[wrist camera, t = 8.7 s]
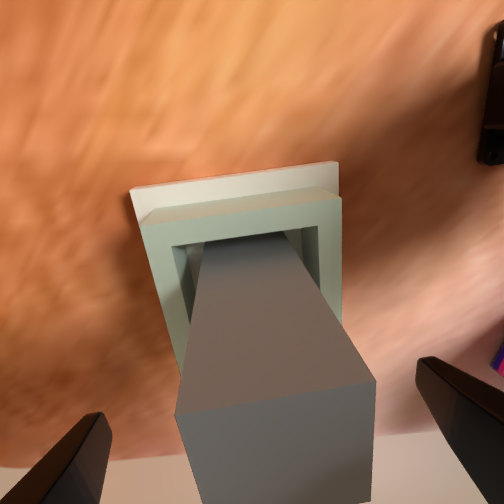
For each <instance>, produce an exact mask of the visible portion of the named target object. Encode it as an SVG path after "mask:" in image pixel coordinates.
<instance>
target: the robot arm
mask: <svg viewBox="0 0 504 504" xmlns="http://www.w3.org/2000/svg"><path fill="white" fill-rule="evenodd" d="M490 152H491V156H490V158H489V159H488V155H489V153H490ZM477 161H478V163H479V164H481V165H489V166H492V165H499V164H504V20H503V21H502V22H501V24H500V26H499V29H498V33H497V40H496V46H495V52H494V58H493V64H492V70H491V76H490V82H489V88H488V94H487V100H486V106H485V112H484V118H483V124H482V130H481V136H480V142H479V148H478V155H477ZM415 382H416V386H417V388H418V390H419V392H420V394H421V395H422V397H423V399H424V401H425V403H426V405H427V406H428V408H429V410H430V412H431V414H432V415H433V417H434V419H435V421H436V423H437V425H438V426H439V428H440V430H441V432H442V434H443V435H444V437H445V439H446V441H447V442H448V444H449V445H450V447H451V449H452V450H453V452H454V453H455V455H456V456H457V457H458V459H459V461H460V462H461V463H462V465H463V466H464V468H465V470H466V471H467V473H468V474H469V475H470V477H471V479H472V480H473V481H474V483H475V484H476V486H477V487H478V489H479V490H480V492H481V493H482V495H483V496H484V498H485V499H486V501H487V502H488V504H504V392H503V391H501V390H499V389H497V388H495V387H493V386H491V385H489V384H487V383H485V382H483V381H481V380H479V379H477V378H475V377H473V376H472V375H470V374H468V373H466V372H464V371H462V370H460V369H458V368H456V367H454V366H452V365H450V364H448V363H446V362H444V361H442V360H440V359H438V358H436V357H434V356H429V357H423V358H419V359H418V361H417V368H416V377H415ZM111 443H112V431H111V429H110V426H109V424H108V422H107V419H106V417H105V415H104V413H102V412H95V413H89V414H86V415H85V416H84V417H82V418H81V419H80V420H79V422H78V423H77V424H76V425H75V426H74V427H73V428H72V429H71V430H70V431H69V432H68V433H67V434H66V435H65V436H64V437H63V438H62V439H61V440H60V441H59V442H58V443H57V444H56V445H55V446H54V447H53V448H52V449H51V450H50V451H49V452H48V453H47V454H46V455H45V456H44V457H43V458H42V459H41V460H40V461H39V462H38V463H37V464H36V465H35V466H34V467H33V468H32V469H31V470H30V471H29V472H28V473H27V474H26V475H25V476H24V477H23V478H22V479H21V480H20V481H19V482H18V483H17V484H16V485H15V486H14V487H13V488H12V489H11V490H10V491H9V492H8V493H7V494H6V495H5V496H4V497H3V498H2V499H1V500H0V504H99V502H100V498H101V493H102V488H103V483H104V478H105V473H106V468H107V463H108V458H109V453H110V448H111Z"/></svg>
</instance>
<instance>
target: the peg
mask: <svg viewBox="0 0 504 504" xmlns="http://www.w3.org/2000/svg"><path fill="white" fill-rule="evenodd" d="M375 396H376V380H375V378H374V377H373V375H372V373H371V372H370V370H369V369H368V367H367V365H366V364H365V362H364V361H363V359H362V357H361V356H360V354H359V353H358V351H357V349H356V348H355V346H354V345H353V343H352V341H351V340H350V338H349V337H348V335H347V333H346V332H345V330H344V328H343V327H342V325H341V324H340V322H339V320H338V319H337V317H336V316H335V314H334V312H333V311H332V309H331V308H330V306H329V304H328V303H327V301H326V300H325V298H324V296H323V295H322V293H321V292H320V290H319V288H318V287H317V285H316V284H315V282H314V280H313V279H312V277H311V276H310V274H309V272H308V271H307V269H306V268H305V266H304V264H303V263H302V261H301V260H300V258H299V256H298V255H297V253H296V252H295V250H294V248H293V247H292V245H291V244H290V242H289V240H288V239H287V237H286V236H285V234H284V232H283V231H276V232H269V233H262V234H255V235H248V236H241V237H234V238H227V239H220V240H213V241H206V242H205V244H204V249H203V255H202V261H201V267H200V272H199V278H198V284H197V290H196V295H195V301H194V307H193V312H192V318H191V324H190V330H189V335H188V341H187V347H186V353H185V358H184V364H183V370H182V375H181V381H180V387H179V393H178V398H177V404H176V410H175V419H176V422H177V425H178V428H179V431H180V434H181V437H182V441H183V444H184V447H185V450H186V453H187V456H188V459H189V462H190V466H191V469H192V472H193V475H194V478H195V481H196V484H197V487H198V491H199V494H200V497H201V500H202V503H203V504H359V503H364V502H370V501H371V483H372V461H373V439H374V418H375Z"/></svg>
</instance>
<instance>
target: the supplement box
mask: <svg viewBox="0 0 504 504" xmlns="http://www.w3.org/2000/svg"><path fill="white" fill-rule="evenodd" d="M491 367H492V368H493V369H494V370H496V371H497V372H498V373H499V374H500V375H502V376H503V377H504V343H503V345H502V346H501V348H500V350H499V352H498V354H497V355H496V357H495V359H494V361H493V362H492V364H491Z"/></svg>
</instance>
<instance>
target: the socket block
mask: <svg viewBox="0 0 504 504" xmlns="http://www.w3.org/2000/svg"><path fill="white" fill-rule="evenodd" d="M129 191H130V195H131V199H132V202H133V206H134V209H135V213H136V217H137V220H138V224H139V228H140V231H141V235H142V238H143V242H144V246H145V249H146V253H147V256H148V260H149V264H150V267H151V271H152V274H153V278H154V282H155V285H156V289H157V293H158V296H159V300H160V303H161V307H162V311H163V314H164V318H165V321H166V325H167V329H168V332H169V336H170V340H171V343H172V347H173V350H174V354H175V358H176V361H177V364H178V368H179V372H180V375H182V370H183V364H184V358H185V353H186V347H187V341H188V335H189V330H190V324H191V318H192V312H193V307H194V301H195V295H196V290H197V284H198V278H199V272H200V267H201V261H202V255H203V249H204V244H205V242H206V241H213V240H220V239H227V238H234V237H241V236H248V235H255V234H262V233H269V232H276V231H283V232H284V234H285V236H286V237H287V239H288V240H289V242H290V244H291V245H292V247H293V248H294V250H295V252H296V253H297V255H298V256H299V258H300V260H301V261H302V263H303V264H304V266H305V268H306V269H307V271H308V272H309V274H310V276H311V277H312V279H313V280H314V282H315V284H316V285H317V287H318V288H319V290H320V292H321V293H322V295H323V296H324V298H325V300H326V301H327V303H328V304H329V306H330V308H331V309H332V311H333V312H334V314H335V316H336V317H337V319H338V320H339V322H340V324H341V325H342V198H341V197H339V162H335V161H325V162H318V163H310V164H303V165H295V166H288V167H280V168H273V169H265V170H258V171H250V172H243V173H235V174H228V175H220V176H213V177H205V178H198V179H191V180H183V181H176V182H168V183H161V184H153V185H146V186H138V187H134V188H132V189H131V190H129Z"/></svg>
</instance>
